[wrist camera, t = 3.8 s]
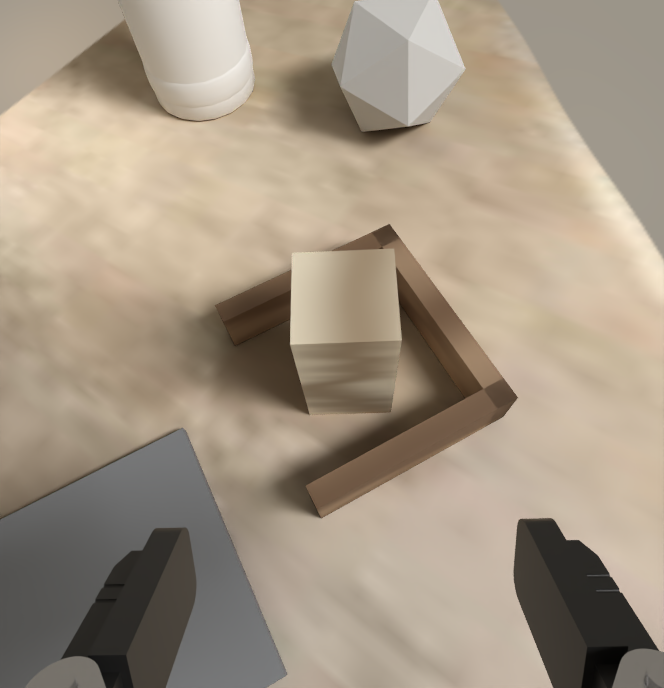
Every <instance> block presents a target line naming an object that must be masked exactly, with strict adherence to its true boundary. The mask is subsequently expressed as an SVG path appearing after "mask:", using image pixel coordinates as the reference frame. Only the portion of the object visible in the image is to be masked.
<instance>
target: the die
mask: <svg viewBox="0 0 664 688" xmlns="http://www.w3.org/2000/svg"><path fill="white" fill-rule="evenodd" d="M331 65H332V67H333V70H334V72H335V75H336V77H337V80H338V82H339V85H340V87H341V89H342V91H343V94H344V96H345V98H346V100H347V102H348V104H349V106H350V108H351V110H352V112H353V115H354V117H355V119H356V121H357V123H358V125H359V127H360V129H361V131H362V132H366V131H374V130H383V129H391V128H399V127H408V126H413V125H418V124H424V123H429V122H430V121H431V120H432V118H433V117H434V115H435V114H436V112H437V111H438V109H439V108H440V106H441V105H442V103H443V102H444V100H445V99H446V98H447V96H448V95H449V93H450V92H451V90H452V89H453V87H454V86H455V84H456V83H457V81H458V80H459V78H460V77H461V75H462V74H463V72H464V71H465V67H464V64H463V62H462V59H461V57H460V54H459V52H458V49H457V47H456V44H455V42H454V39H453V37H452V34H451V32H450V29H449V27H448V24H447V22H446V19H445V17H444V14H443V12H442V9H441V7H440V4H439V2H438V0H362V1H354V4H353V7H352V9H351V12H350V15H349V18H348V20H347V23H346V26H345V29H344V31H343V34H342V37H341V39H340V42H339V45H338V48H337V50H336V53H335V56H334V59H333V61H332V64H331Z"/></svg>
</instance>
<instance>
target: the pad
mask: <svg viewBox="0 0 664 688" xmlns="http://www.w3.org/2000/svg"><path fill="white" fill-rule="evenodd" d="M183 527H186V528H187V529H188V531H189V535H190V541H191V548H192V554H193V560H194V566H195V573H196V582H197V586H196V597H195V602H194V606H193V609H192V612H191V615H190V618H189V621H188V624H187V627H186V630H185V633H184V635H183V638H182V641H181V644H180V647H179V650H178V653H177V656H176V659H175V662H174V665H173V668H172V671H171V674H170V676H169V679H168V682H167V685H166V688H266V687H268V686H270V685H271V684H273V683H275V682H276V681H278V680H280V679H281V678H283V677H285V676H286V675H287V672H286V670H285V667H284V665H283V663H282V660H281V658H280V655H279V653H278V651H277V648H276V646H275V643H274V641H273V639H272V636H271V634H270V631H269V629H268V627H267V624H266V622H265V619H264V617H263V615H262V612H261V610H260V607H259V605H258V603H257V600H256V598H255V595H254V593H253V591H252V588H251V586H250V583H249V581H248V579H247V576H246V574H245V571H244V569H243V567H242V564H241V562H240V559H239V557H238V555H237V552H236V550H235V547H234V545H233V543H232V540H231V538H230V535H229V533H228V531H227V528H226V526H225V524H224V521H223V519H222V516H221V514H220V512H219V509H218V507H217V504H216V502H215V500H214V497H213V495H212V492H211V490H210V488H209V485H208V483H207V480H206V478H205V476H204V473H203V471H202V468H201V466H200V464H199V461H198V459H197V456H196V454H195V452H194V449H193V447H192V444H191V442H190V440H189V437H188V435H187V432H186V431H185V430H184V429H183V428H181V429H179V430H177V431H175V432H173V433H172V434H170V435H168V436H166V437H164V438H162V439H160V440H158V441H156V442H154V443H152V444H150V445H148V446H146V447H144V448H142V449H140V450H138V451H136V452H134V453H132V454H130V455H128V456H126V457H124V458H122V459H120V460H118V461H116V462H114V463H112V464H110V465H108V466H106V467H104V468H102V469H100V470H98V471H96V472H94V473H92V474H90V475H88V476H86V477H84V478H82V479H80V480H78V481H76V482H74V483H72V484H70V485H68V486H66V487H64V488H62V489H60V490H58V491H56V492H54V493H52V494H50V495H48V496H46V497H44V498H42V499H40V500H38V501H36V502H34V503H32V504H30V505H28V506H26V507H24V508H22V509H20V510H18V511H16V512H14V513H12V514H10V515H8V516H6V517H4V518H2V519H0V688H25V687H26V685H27V684H28V683H29V682H30V680H31V679H32V678H33V677H34V676H35V675H37V674H38V673H39V672H40V671H41V670H43V669H44V668H46V667H47V666H49V665H51V664H52V663H54V662H57V661H59V660H61V658H62V656H63V655H64V653H65V651H66V649H67V648H68V646H69V644H70V642H71V641H72V639H73V637H74V635H75V634H76V632H77V630H78V628H79V627H80V625H81V623H82V621H83V620H84V618H85V616H86V614H87V613H88V611H89V609H90V607H91V606H92V604H93V603H95V599H96V597H97V595H98V593H99V592H100V590H101V588H103V587H104V583H105V581H106V580H107V578H108V576H109V574H110V573H111V571H112V569H113V567H114V566H115V565H116V564H117V563H118V562H119V561H121V560H122V559H123V558H124V557H125V556H126V555H127V554H128V553H129V552H130V551H139V550H143V548H144V546H145V545H146V543H147V541H148V539H149V537H150V535H151V533H152V531H153V530H154V529H155V528H183Z"/></svg>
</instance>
